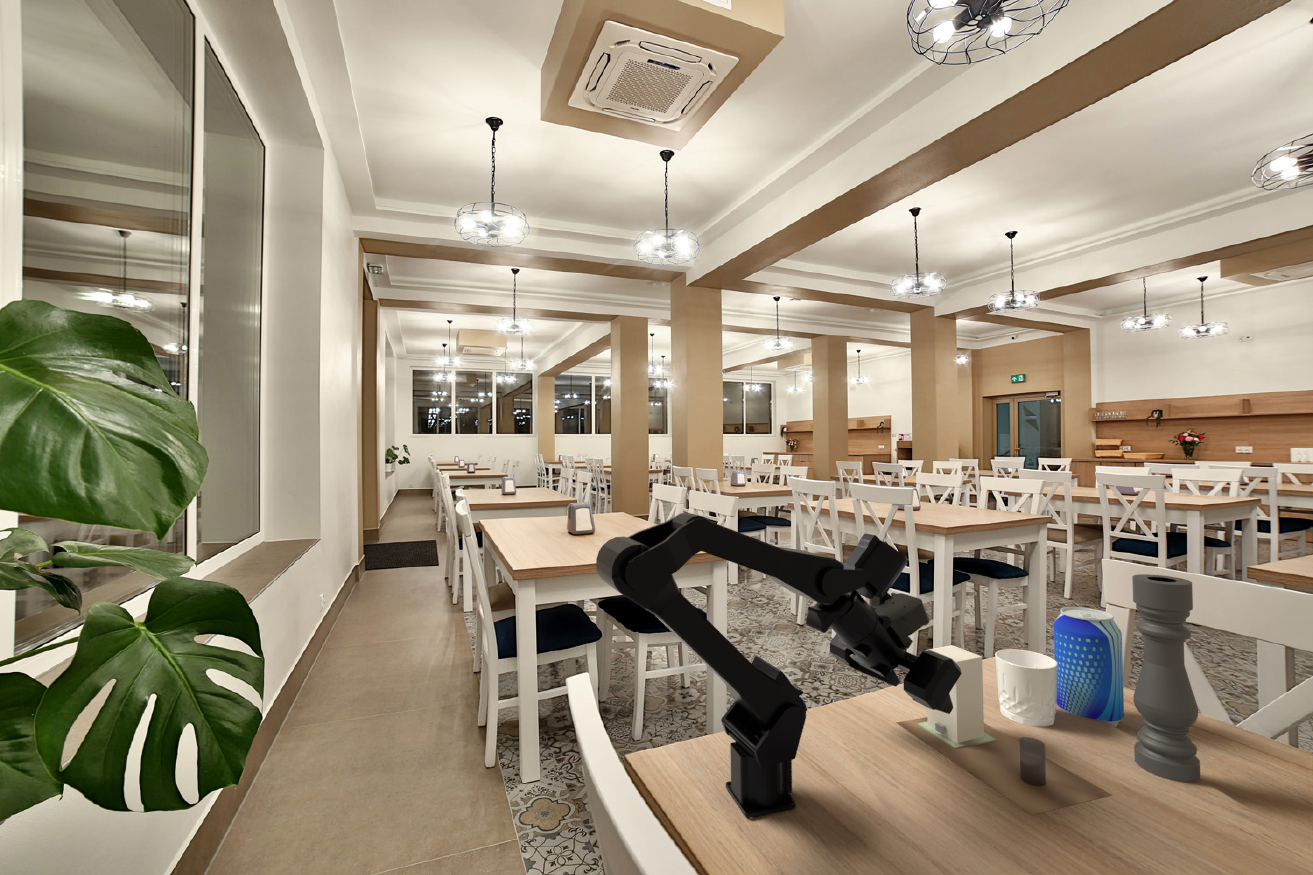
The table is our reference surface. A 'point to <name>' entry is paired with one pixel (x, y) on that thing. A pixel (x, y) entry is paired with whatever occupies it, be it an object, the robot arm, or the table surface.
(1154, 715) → the candle holder
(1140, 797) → the table surface
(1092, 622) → the beer can
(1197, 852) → the table surface
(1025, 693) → the white cup
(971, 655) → the tall white prism
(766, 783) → the robot arm
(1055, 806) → the board
